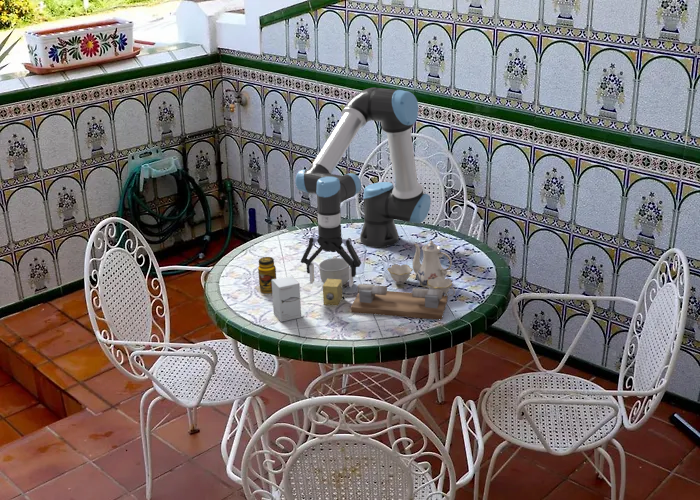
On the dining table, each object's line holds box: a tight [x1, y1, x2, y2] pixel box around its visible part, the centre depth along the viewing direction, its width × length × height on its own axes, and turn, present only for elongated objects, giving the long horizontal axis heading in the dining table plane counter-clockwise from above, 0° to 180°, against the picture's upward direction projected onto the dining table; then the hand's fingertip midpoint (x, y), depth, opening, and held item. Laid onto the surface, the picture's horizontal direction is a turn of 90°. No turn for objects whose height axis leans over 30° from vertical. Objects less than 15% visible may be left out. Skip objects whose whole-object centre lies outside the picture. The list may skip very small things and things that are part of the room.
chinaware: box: [387, 240, 456, 297], centre depth 292 cm, size 28×17×17 cm, turn 53°
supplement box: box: [271, 275, 302, 323], centre depth 275 cm, size 7×7×13 cm
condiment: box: [254, 256, 277, 297], centre depth 294 cm, size 7×8×12 cm
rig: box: [350, 283, 449, 321], centre depth 279 cm, size 14×30×7 cm, turn 76°
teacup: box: [318, 255, 350, 287], centre depth 299 cm, size 14×11×8 cm
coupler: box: [322, 279, 343, 307], centre depth 285 cm, size 5×8×7 cm, turn 166°
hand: (331, 283), depth 283 cm, fingers open, 13 cm apart
